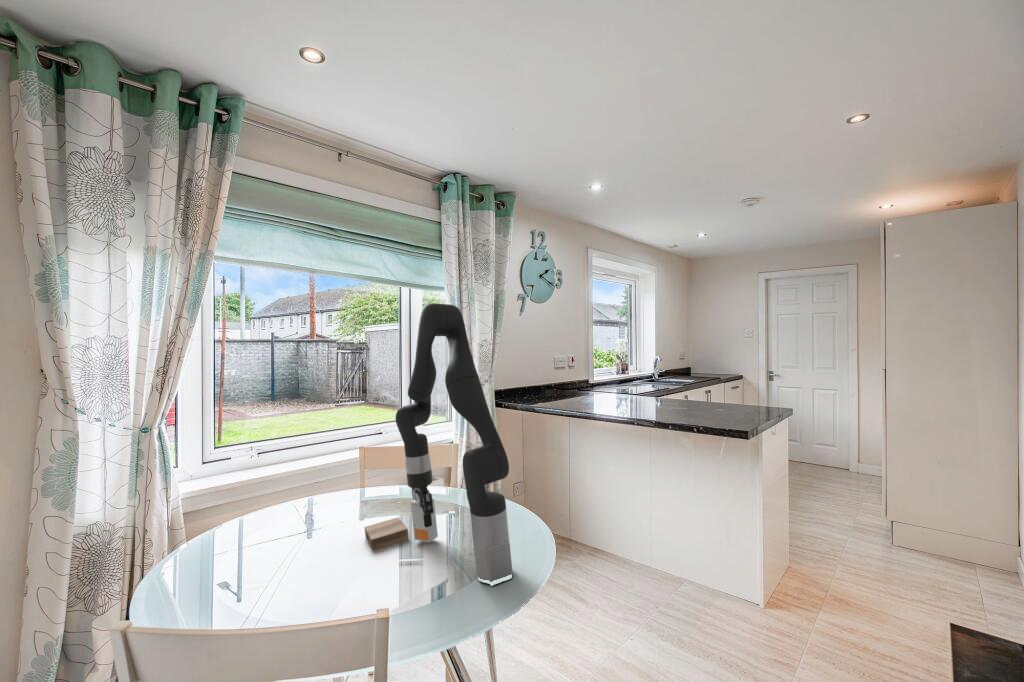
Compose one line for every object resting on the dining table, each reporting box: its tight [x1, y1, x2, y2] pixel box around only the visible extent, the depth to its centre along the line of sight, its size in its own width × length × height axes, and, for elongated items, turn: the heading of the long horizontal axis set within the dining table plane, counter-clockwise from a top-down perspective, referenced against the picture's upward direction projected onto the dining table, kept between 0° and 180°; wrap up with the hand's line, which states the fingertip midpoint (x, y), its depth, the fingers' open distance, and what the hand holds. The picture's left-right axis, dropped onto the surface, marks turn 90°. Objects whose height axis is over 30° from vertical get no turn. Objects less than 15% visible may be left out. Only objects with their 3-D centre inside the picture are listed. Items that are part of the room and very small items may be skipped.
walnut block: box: [364, 517, 410, 552], centre depth 144 cm, size 11×11×4 cm
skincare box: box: [410, 498, 439, 543], centre depth 140 cm, size 6×4×12 cm
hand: (424, 522), depth 140 cm, fingers closed on skincare box, 7 cm apart
